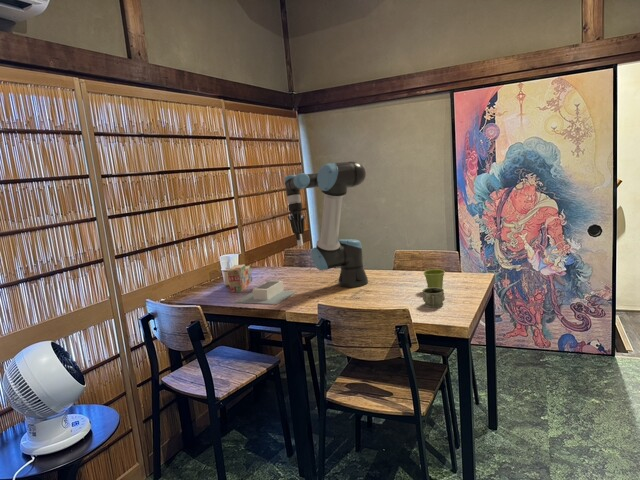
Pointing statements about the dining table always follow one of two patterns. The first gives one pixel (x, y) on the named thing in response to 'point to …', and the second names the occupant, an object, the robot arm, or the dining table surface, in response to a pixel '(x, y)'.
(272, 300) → the rubber mat
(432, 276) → the plant pot
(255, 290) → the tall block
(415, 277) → the dining table surface
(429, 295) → the vessel
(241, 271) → the multicoloured rectangular box
